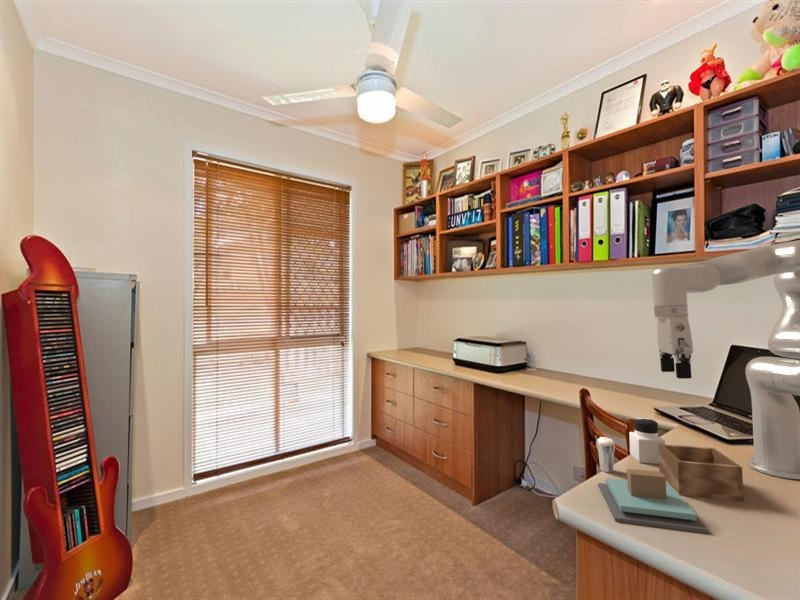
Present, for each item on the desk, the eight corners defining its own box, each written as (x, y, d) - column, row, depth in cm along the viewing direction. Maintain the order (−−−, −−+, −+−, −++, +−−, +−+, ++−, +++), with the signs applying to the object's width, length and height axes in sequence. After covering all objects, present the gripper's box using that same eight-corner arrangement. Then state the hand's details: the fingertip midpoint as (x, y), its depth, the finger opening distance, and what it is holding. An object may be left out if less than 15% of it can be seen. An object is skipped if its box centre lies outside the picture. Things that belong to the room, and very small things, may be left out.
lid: (670, 493, 91) (668, 464, 92) (696, 524, 78) (695, 490, 78) (606, 486, 96) (605, 458, 96) (621, 514, 82) (620, 482, 82)
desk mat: (674, 494, 92) (674, 491, 92) (709, 533, 76) (708, 529, 76) (598, 486, 97) (598, 483, 97) (615, 521, 81) (615, 517, 81)
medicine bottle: (666, 464, 110) (664, 423, 110) (639, 463, 111) (637, 422, 112) (654, 455, 117) (653, 416, 117) (629, 454, 118) (628, 416, 119)
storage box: (715, 478, 101) (713, 448, 101) (743, 501, 88) (742, 467, 89) (659, 472, 105) (658, 443, 105) (679, 494, 92) (677, 461, 92)
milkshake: (591, 467, 109) (590, 433, 109) (609, 466, 109) (607, 432, 109) (601, 474, 104) (600, 438, 104) (619, 473, 105) (618, 437, 105)
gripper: (703, 312, 93) (708, 381, 93) (672, 311, 110) (677, 369, 109) (668, 313, 95) (673, 381, 95) (643, 312, 112) (648, 369, 111)
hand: (675, 374), depth 102 cm, fingers open, 9 cm apart
